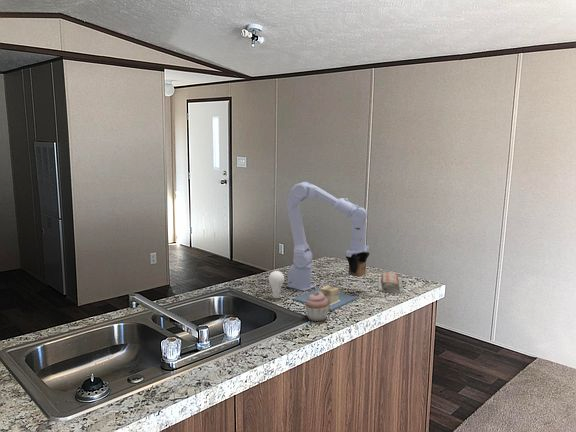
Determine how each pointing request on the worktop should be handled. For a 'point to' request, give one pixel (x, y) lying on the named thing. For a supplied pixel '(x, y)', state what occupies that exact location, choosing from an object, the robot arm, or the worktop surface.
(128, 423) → the worktop surface
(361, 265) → the walnut block
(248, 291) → the worktop surface
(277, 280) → the lightbulb
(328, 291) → the maple block
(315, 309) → the cupcake
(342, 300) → the board
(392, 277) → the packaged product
